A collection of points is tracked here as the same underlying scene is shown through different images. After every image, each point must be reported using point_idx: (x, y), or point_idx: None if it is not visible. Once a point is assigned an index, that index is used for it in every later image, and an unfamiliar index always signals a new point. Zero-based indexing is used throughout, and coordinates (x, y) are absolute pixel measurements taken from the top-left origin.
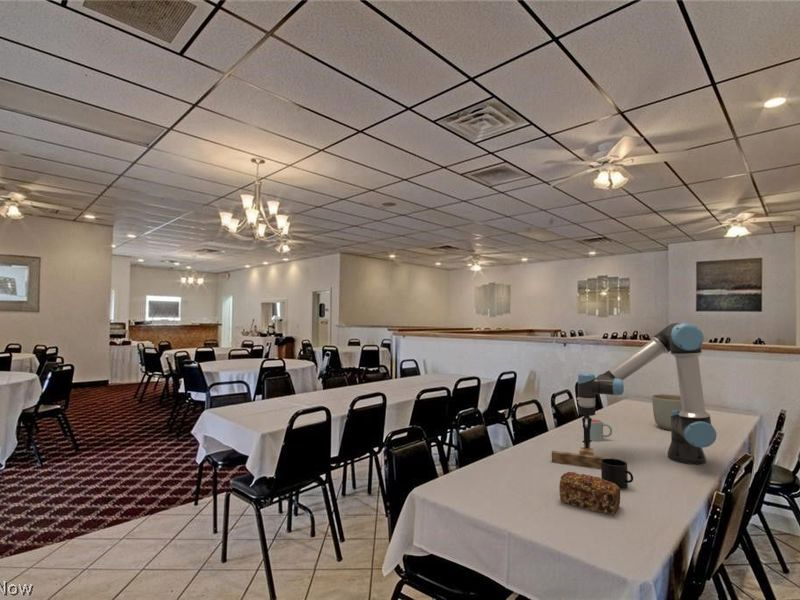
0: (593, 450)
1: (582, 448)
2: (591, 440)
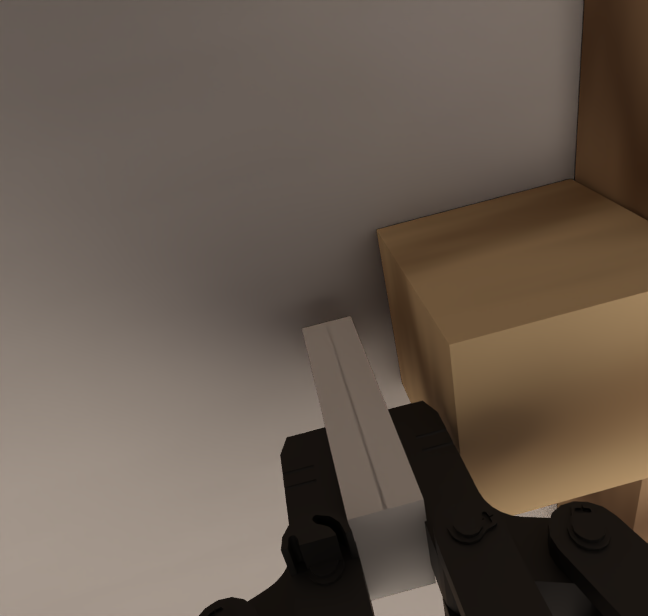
0: (591, 312)
1: (537, 480)
2: (289, 549)
